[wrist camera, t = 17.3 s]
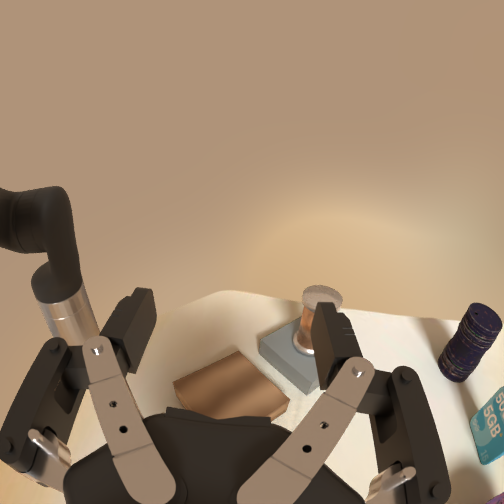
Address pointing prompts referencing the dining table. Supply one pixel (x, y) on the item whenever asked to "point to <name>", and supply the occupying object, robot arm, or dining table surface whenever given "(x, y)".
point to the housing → (312, 315)
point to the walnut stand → (231, 390)
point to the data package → (490, 428)
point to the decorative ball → (497, 499)
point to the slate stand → (290, 358)
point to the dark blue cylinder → (469, 342)
